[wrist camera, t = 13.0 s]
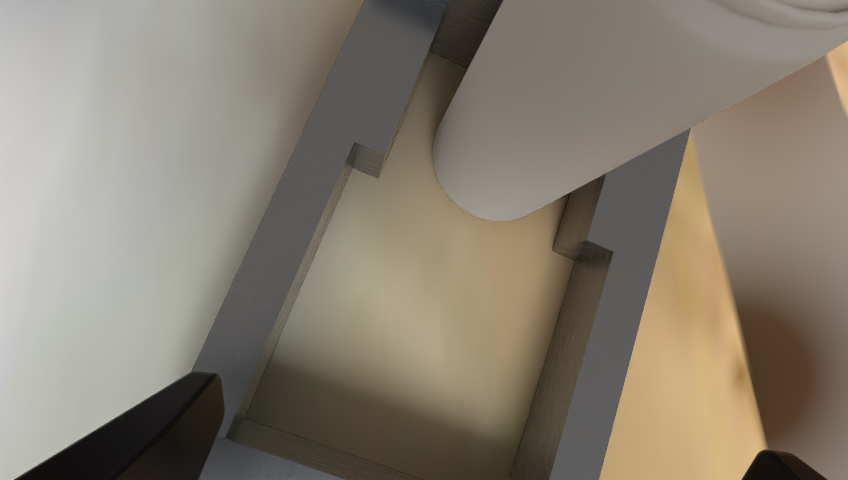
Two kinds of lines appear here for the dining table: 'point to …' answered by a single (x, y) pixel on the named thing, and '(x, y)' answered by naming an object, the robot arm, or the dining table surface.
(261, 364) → the grey shallow tray
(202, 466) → the robot arm
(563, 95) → the beverage can
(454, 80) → the dining table surface
